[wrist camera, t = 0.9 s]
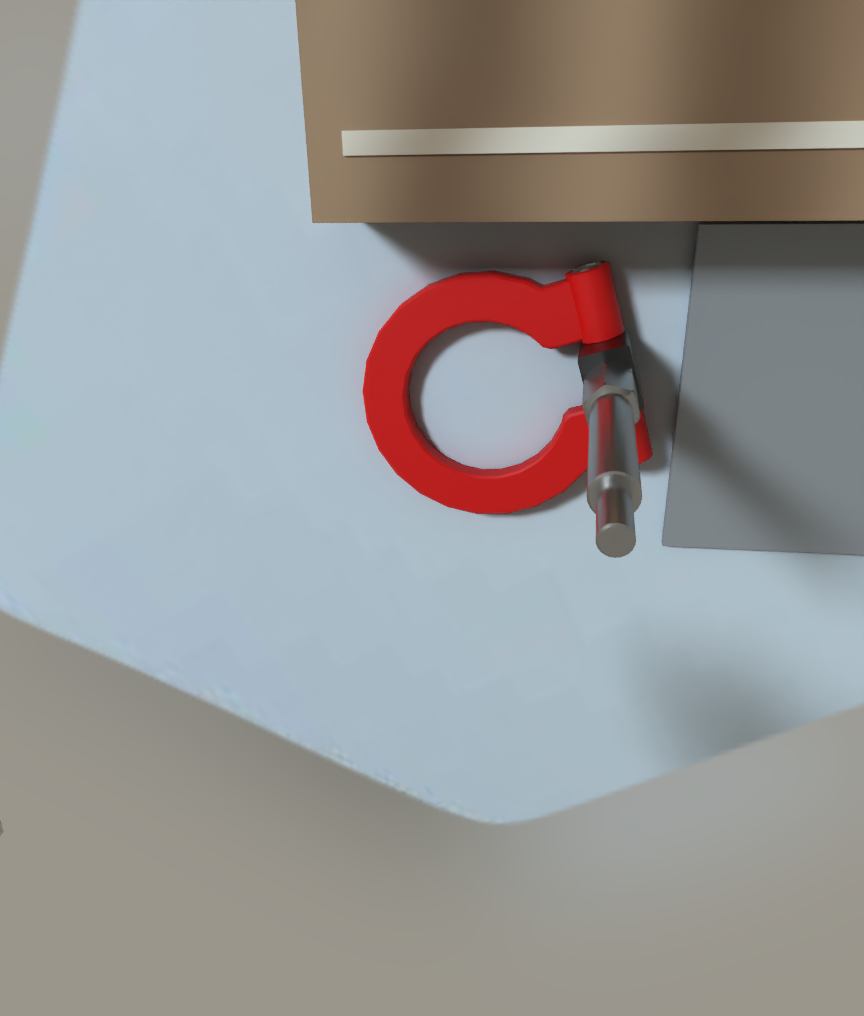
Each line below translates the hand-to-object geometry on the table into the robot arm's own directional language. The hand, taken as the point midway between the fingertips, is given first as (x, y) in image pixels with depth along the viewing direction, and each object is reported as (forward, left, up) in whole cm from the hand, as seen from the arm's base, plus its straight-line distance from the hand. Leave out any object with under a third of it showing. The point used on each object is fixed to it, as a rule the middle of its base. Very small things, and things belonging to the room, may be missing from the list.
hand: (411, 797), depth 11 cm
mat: (-12, 0, -19) cm, 22 cm away
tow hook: (0, 0, -19) cm, 19 cm away
